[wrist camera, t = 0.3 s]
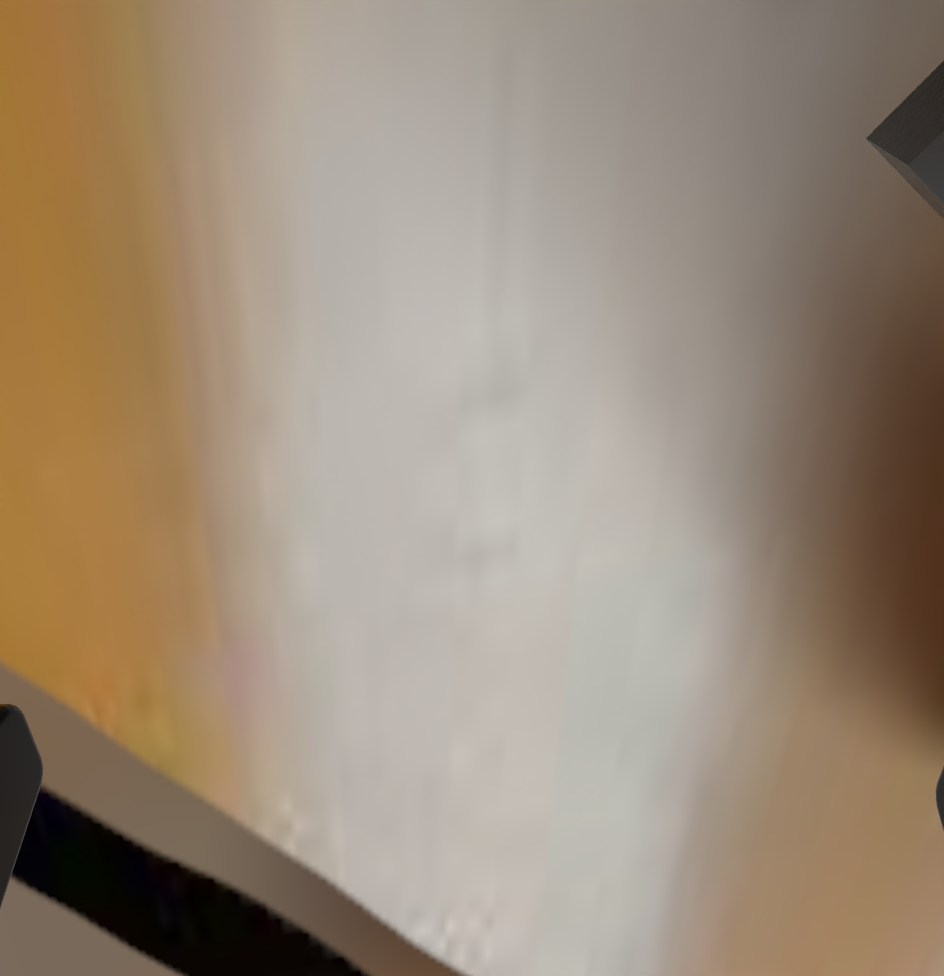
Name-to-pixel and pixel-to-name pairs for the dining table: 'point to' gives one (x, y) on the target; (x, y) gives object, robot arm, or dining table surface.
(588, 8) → the dining table surface
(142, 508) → the dining table surface
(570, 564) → the dining table surface
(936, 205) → the cooker
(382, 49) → the dining table surface
